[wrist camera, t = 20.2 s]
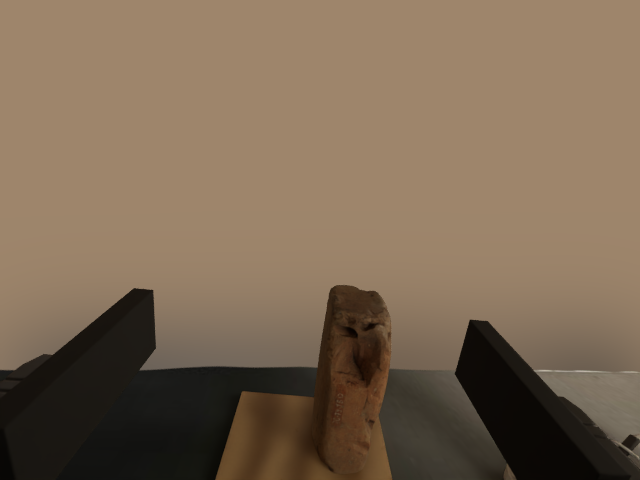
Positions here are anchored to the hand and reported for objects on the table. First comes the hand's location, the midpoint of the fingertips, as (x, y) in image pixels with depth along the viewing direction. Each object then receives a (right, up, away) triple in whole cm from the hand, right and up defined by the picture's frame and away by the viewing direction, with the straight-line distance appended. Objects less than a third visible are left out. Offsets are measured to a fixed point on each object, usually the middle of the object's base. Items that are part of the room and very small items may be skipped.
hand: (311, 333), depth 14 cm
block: (+3, -22, +29) cm, 36 cm away
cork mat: (-1, -22, +29) cm, 36 cm away
